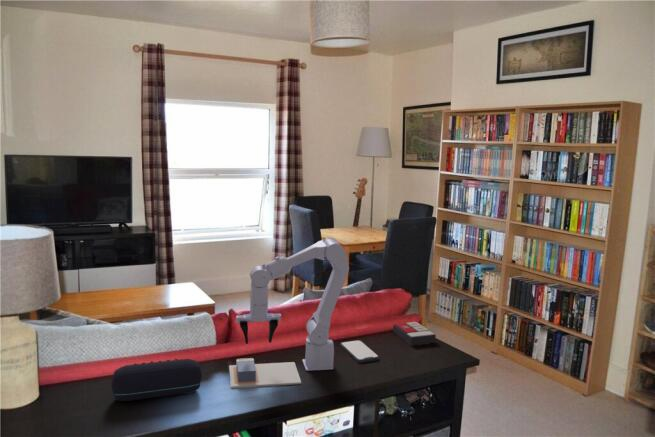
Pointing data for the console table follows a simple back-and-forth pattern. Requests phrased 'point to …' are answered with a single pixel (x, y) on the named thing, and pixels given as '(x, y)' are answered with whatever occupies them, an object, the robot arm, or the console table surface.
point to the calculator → (414, 333)
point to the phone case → (359, 351)
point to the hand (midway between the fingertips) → (258, 342)
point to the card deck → (245, 369)
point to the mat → (268, 375)
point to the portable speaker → (156, 379)
